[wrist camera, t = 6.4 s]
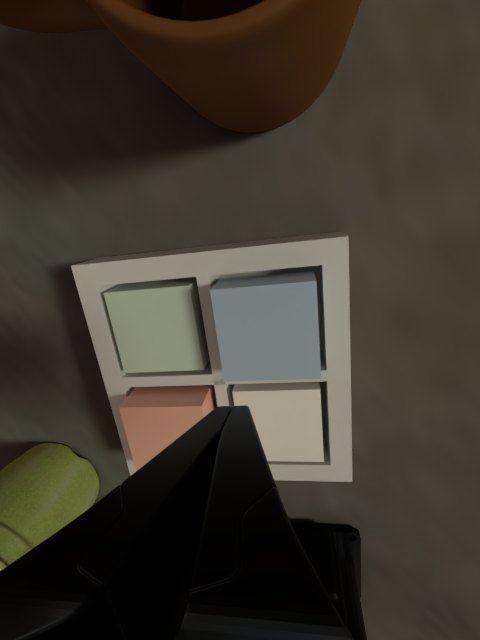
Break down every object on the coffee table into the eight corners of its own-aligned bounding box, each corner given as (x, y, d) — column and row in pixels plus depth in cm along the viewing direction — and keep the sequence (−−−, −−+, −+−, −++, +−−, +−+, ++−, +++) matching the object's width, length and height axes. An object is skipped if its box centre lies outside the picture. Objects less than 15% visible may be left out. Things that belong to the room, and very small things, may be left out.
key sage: (213, 353, 19) (203, 370, 17) (140, 356, 19) (124, 373, 18) (200, 276, 17) (189, 285, 15) (123, 283, 18) (103, 293, 16)
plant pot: (-15, 425, 24) (-168, 535, 16) (98, 416, 22) (-11, 537, 14) (33, 520, 27) (-78, 654, 19) (136, 520, 25) (63, 669, 17)
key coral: (222, 451, 19) (214, 477, 17) (151, 450, 20) (137, 476, 18) (211, 384, 18) (201, 406, 16) (136, 387, 19) (118, 407, 17)
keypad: (345, 448, 20) (352, 481, 18) (148, 447, 23) (130, 476, 20) (340, 231, 16) (348, 236, 14) (99, 257, 18) (70, 265, 16)
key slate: (318, 358, 16) (321, 378, 15) (231, 362, 17) (224, 381, 15) (313, 271, 15) (316, 280, 13) (219, 279, 16) (209, 289, 14)
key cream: (321, 436, 19) (324, 462, 17) (247, 436, 20) (242, 460, 18) (317, 369, 18) (320, 389, 16) (238, 372, 19) (232, 391, 17)
